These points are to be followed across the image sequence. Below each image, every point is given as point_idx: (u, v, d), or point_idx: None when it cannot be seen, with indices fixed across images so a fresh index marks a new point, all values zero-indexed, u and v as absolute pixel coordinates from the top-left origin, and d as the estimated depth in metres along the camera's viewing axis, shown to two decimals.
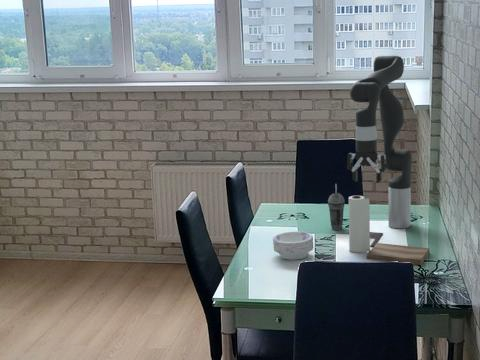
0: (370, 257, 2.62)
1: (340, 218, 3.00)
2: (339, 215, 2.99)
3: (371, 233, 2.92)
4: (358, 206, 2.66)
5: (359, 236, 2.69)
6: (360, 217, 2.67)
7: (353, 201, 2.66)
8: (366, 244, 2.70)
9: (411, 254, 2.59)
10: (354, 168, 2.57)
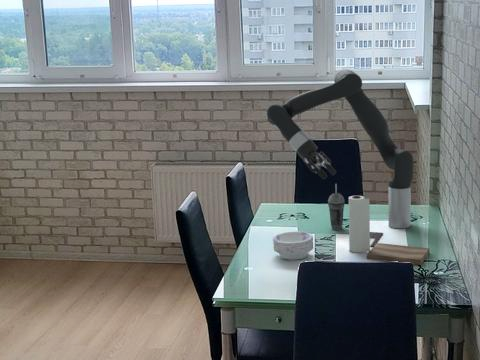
0: (370, 257, 2.62)
1: (340, 218, 3.00)
2: (339, 215, 2.99)
3: (371, 233, 2.92)
4: (358, 206, 2.66)
5: (359, 236, 2.69)
6: (360, 217, 2.67)
7: (353, 201, 2.66)
8: (366, 244, 2.70)
9: (411, 254, 2.59)
10: None
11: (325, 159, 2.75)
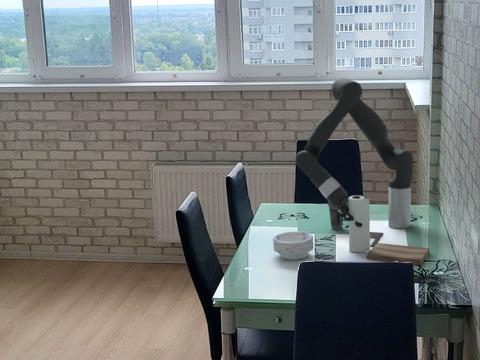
0: (370, 257, 2.62)
1: (340, 218, 3.00)
2: (339, 215, 2.99)
3: (371, 233, 2.92)
4: (358, 206, 2.66)
5: (359, 236, 2.69)
6: (360, 217, 2.67)
7: (353, 201, 2.66)
8: (366, 244, 2.70)
9: (411, 254, 2.59)
10: None
11: None
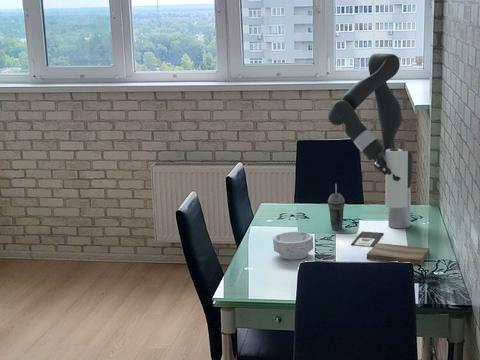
0: (370, 257, 2.62)
1: (340, 218, 3.00)
2: (339, 215, 2.99)
3: (372, 233, 2.92)
4: (396, 159, 2.54)
5: (396, 191, 2.57)
6: (398, 170, 2.55)
7: (391, 154, 2.54)
8: (403, 199, 2.58)
9: (411, 254, 2.59)
10: None
11: None
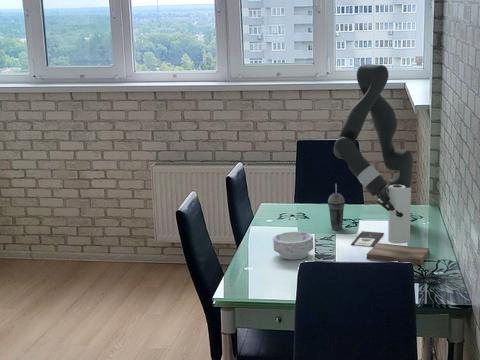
0: (370, 257, 2.62)
1: (340, 218, 3.00)
2: (339, 215, 2.99)
3: (372, 233, 2.92)
4: (399, 195, 2.56)
5: (399, 226, 2.59)
6: (401, 207, 2.57)
7: (394, 190, 2.56)
8: (406, 235, 2.60)
9: (411, 254, 2.59)
10: None
11: None
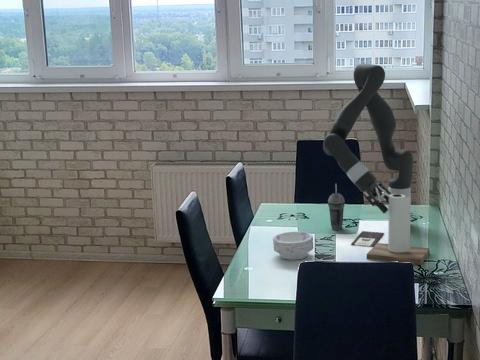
0: (370, 257, 2.62)
1: (340, 218, 3.00)
2: (339, 215, 2.99)
3: (372, 233, 2.92)
4: (399, 205, 2.57)
5: (399, 236, 2.60)
6: (401, 216, 2.58)
7: (394, 199, 2.57)
8: (406, 244, 2.61)
9: (411, 254, 2.59)
10: None
11: (384, 191, 2.65)
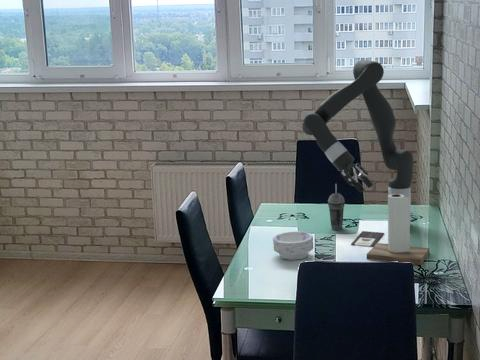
0: (370, 257, 2.62)
1: (340, 218, 3.00)
2: (339, 215, 2.99)
3: (372, 233, 2.92)
4: (398, 205, 2.57)
5: (399, 236, 2.60)
6: (400, 216, 2.58)
7: (393, 199, 2.58)
8: (406, 244, 2.61)
9: (411, 254, 2.59)
10: None
11: (362, 171, 2.69)
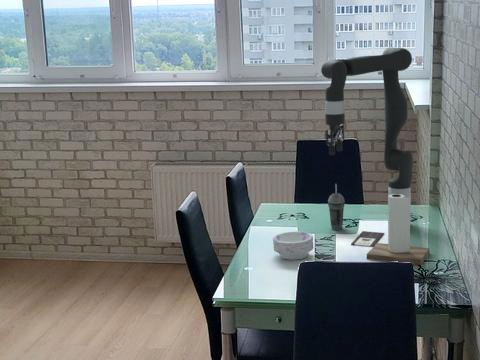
0: (370, 257, 2.62)
1: (340, 218, 3.00)
2: (339, 215, 2.99)
3: (372, 233, 2.92)
4: (398, 205, 2.57)
5: (399, 236, 2.60)
6: (400, 216, 2.58)
7: (393, 200, 2.57)
8: (406, 244, 2.61)
9: (411, 254, 2.59)
10: None
11: (342, 136, 2.79)
